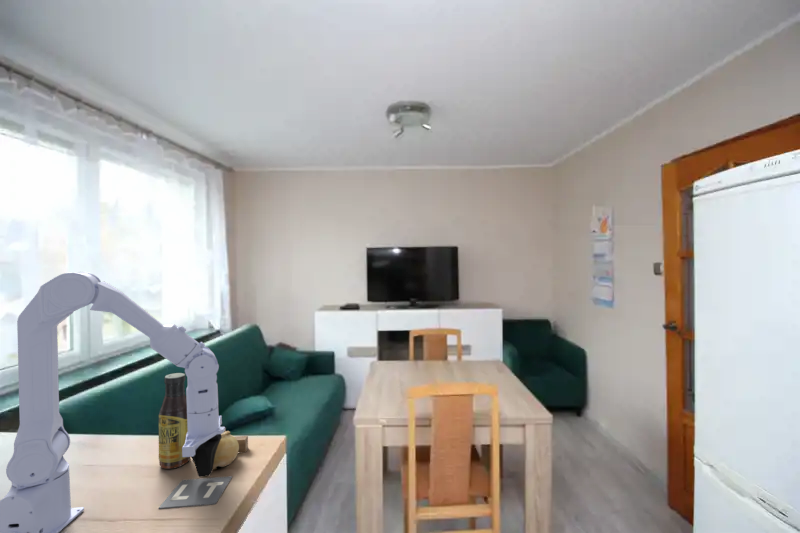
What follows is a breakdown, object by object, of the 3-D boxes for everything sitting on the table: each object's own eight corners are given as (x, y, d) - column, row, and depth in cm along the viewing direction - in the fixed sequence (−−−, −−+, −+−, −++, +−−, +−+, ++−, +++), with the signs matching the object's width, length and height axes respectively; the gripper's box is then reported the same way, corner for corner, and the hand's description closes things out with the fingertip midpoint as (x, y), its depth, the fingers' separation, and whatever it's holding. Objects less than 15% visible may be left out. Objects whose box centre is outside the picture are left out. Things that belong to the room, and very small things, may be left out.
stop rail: (245, 452, 91) (245, 439, 90) (205, 455, 90) (205, 442, 90) (248, 448, 93) (247, 435, 92) (209, 450, 92) (208, 438, 92)
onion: (227, 474, 81) (226, 441, 81) (191, 474, 82) (190, 440, 82) (245, 455, 89) (244, 424, 89) (212, 455, 90) (211, 424, 90)
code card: (215, 504, 71) (215, 502, 71) (158, 508, 70) (158, 507, 70) (232, 477, 80) (232, 475, 80) (182, 480, 79) (182, 479, 79)
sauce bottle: (152, 469, 84) (148, 378, 84) (175, 455, 90) (171, 370, 90) (177, 472, 83) (173, 380, 82) (198, 457, 89) (195, 371, 88)
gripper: (209, 421, 72) (211, 494, 72) (234, 395, 86) (237, 455, 86) (169, 424, 71) (172, 497, 71) (202, 396, 86) (204, 457, 86)
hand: (205, 474), depth 79 cm, fingers closed
